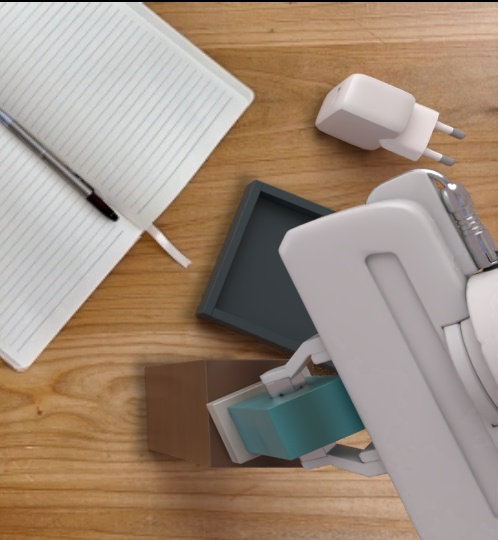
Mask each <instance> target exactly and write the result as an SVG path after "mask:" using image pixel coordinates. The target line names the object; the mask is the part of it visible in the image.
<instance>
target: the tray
mask: <svg viewBox="0 0 498 540" xmlns="http://www.w3.org/2000/svg"><path fill="white" fill-rule="evenodd" d="M336 212H337V211H336V210H334V209H331V208H329V207H326V206H324V205H322V204H319V203H316V202H314V201H311V200H309V199H307V198H304V197H301V196H299V195H296V194H294V193H291V192H289V191H286V190H284V189H282V188H279V187H276V186H274V185H271V184H268V183H266V182H263V181H261V180H258V179H254V180H252V181H251V182H250V183H248V184H246V186H245V189H244V192H243V194H242V196H241V199H240V201H239V204H238V206H237V209H236V211H235V213H234V215H233V218H232V220H231V223H230V226H229V228H228V231H227V233H226V236H225V239H224V241H223V243H222V246H221V249H220V252H219V254H218V256H217V259H216V262H215V263H214V266H213V269H212V271H211V274H210V276H209V279H208V281H207V284H206V286H205V289H204V291H203V294H202V296H201V298H200V301H199V304H198V306H197V308H196V311H195V313H194V315H195V316H196V317H199V318H201V319H203V320H206V321H208V322H211V323H213V324H215V325H218V326H220V327H222V328H225V329H227V330H229V331H232V332H234V333H237V334H239V335H242V336H244V337H247V338H249V339H251V340H253V341H256V342H258V343H260V344H263V345H266V346H268V347H270V348H273V349H274V350H278V351H279V352H282V353H285V354H287V355H289V356H291V357H292V356H293V355H294V354H295V352H296V351H297V350H298V349H299V347H300V346H301V345H302V343H303V342H305V341H306V340H308V339H310V338H311V337H313V336H314V335H316V334H318V332H317V330H316V327H315V325H314V323H313V321H312V319H311V317H310V315H309V313H308V311H307V309H306V307H305V305H304V303H303V301H302V299H301V297H300V295H299V293H298V291H297V289H296V287H295V285H294V283H293V281H292V279H291V277H290V275H289V273H288V271H287V269H286V267H285V265H284V263H283V261H282V259H281V257H280V254H279V247H280V245H281V242H282V240H283V238H284V236H285V235H286V233H287V232H288V231H289V230H291V229H293V228H296V227H298V226H300V225H303V224H305V223H308V222H310V221H313V220H315V219H318V218H321V217H324V216H327V215H330V214H332V213H336ZM313 366H316V367H318V368H319V369H323V370H324V371H327V372H330V373H332V374H333V375H339V374H338V372H337V370H336V368H335V366H334V364H333V362H332V360H330V361H327V362H323V363H320V364H314V363H313Z"/></svg>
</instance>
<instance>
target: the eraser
mask: <svg viewBox="0 0 498 540" xmlns="http://www.w3.org/2000/svg"><path fill="white" fill-rule="evenodd" d="M301 372H302V374H303V376H304V378H305V381H306V383H307V384H306V385H304V386H303V387H300V389H299V390H297V391H296V392H293V393H290V394H286V395H281V396H279V397H276V398H273V399H271V398H270V396H269V394H268V392H267V390H266V388H265V387H264V384H263V383H262V381H260V382H257V383H255V384H253V385H250V386H248V387H246V388H243V389H241V390H238V391H236V392H234V393H231V394H229V395H227V396H224V397H222V398H220V399H217V400H215V401H213V402H210V403H208V404H206V406H207V408H208V410H209V412H210V414H211V417H212V419H213V421H214V423H215V425H216V427H217V429H218V432H219V434H220V436H221V438H222V440H223V442H224V444H225V447H226V449H227V451H228V453H229V455H230V457H231V459H232V461H233V462H235V463H239V464H242V463H244V462H246V461H249V460H251V459H253V458H256V457H258V456H260V455H266V456H271V457H277V458H282V459H287V460H294V459H296V458H298V457H301V456H303V455H305V454H308V453H310V452H312V451H315V450H317V449H319V448H322V447H324V446H326V445H329V444H331V443H333V442H336V443H337V442H338V441H341V440H343V439H345V438H348V437H350V436H353V435H355V434H357V433H359V432H362V431H363V430H366V429H365V427H364V425H363V423H362V421H361V418H360V416H359V414H358V412H357V410H356V408H355V406H354V404H353V402H352V400H351V398H350V396H349V394H348V392H347V390H346V388H345V386H344V384H343V382H342V380H341V378H340V376H339V375H337V374H331V375H329V374H328V375H327V374H326V375H314V376H311V374H310V372H309V370H308V368H307V366H306V367H305V368H304V369H303V370H302V371H301Z"/></svg>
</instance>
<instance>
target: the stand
mask: <svg viewBox="0 0 498 540" xmlns="http://www.w3.org/2000/svg"><path fill="white" fill-rule="evenodd" d="M290 359H291V358H220V359H219V358H215V359H213V358H211V359H210V358H209V359H199V360H191V361H189V360H188V361H182V362H174V363H165V364H158V365H151V366H150V365H148V366H145V367H144V381H145V382H144V383H145V407H146V408H145V409H146V433H147V434H146V435H147V449H148V450H150V451H154V452H157V453H160V454H163V455H168V456H171V457H174V458H176V459H177V458H178V459H180V460H185V461H188V462H191V463H194V464H198V465H201V466H205V467H208V468H212V469H234V468H236V469H274V468H275V469H304V468H303V466H302V464H301V461H300V459H299V457H298V458H296V459H294V460H287V459H282V458H277V457H271V456H266V455H260V456H258V457H256V458H253V459H251V460H249V461H246V462H244V463H242V464H239V463H235V462H233V461H232V459H231V457H230V455H229V453H228V451H227V449H226V447H225V444H224V442H223V440H222V438H221V436H220V434H219V432H218V429H217V427H216V425H215V423H214V421H213V419H212V417H211V414H210V412H209V410H208V408H207V406H206V404H208V403H210V402H213V401H215V400H217V399H220V398H222V397H224V396H227V395H229V394H231V393H234V392H236V391H238V390H241V389H243V388H246V387H248V386H250V385H253V384H255V383H257V382H260V381H262V380H261V378H260V376H261V375H263V374H264V373H266V372H267V371H270V370H272V369H274V368H277V367H280V366H283V365H286V364H287V363H288V361H289V360H290ZM307 368H308V370H309V372H310V374H311V376H315V373H314V365H313V361H312V360H311V361H310V362H309V363H308V364H307ZM319 468H320V467H318V468H317V469H319Z"/></svg>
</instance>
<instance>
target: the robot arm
mask: <svg viewBox="0 0 498 540" xmlns="http://www.w3.org/2000/svg"><path fill="white" fill-rule="evenodd" d="M435 181H437V182H438V183H439V184H441V186H442V187H443V188H441V189H439V188H438V186H437V184H436V182H435ZM473 205H474V202H473V199H472V197H471V195H470V193H469V191H468V190H467V189H466V187H465V186H464V185H463V184H462V183H461V182H460V181H457V182H455V183H454V182H453V181H452V180H451V179H450V178H449V177H448V176H446V175H445V174H443V173H442V172H439V171H437V170H435V169H432V168H425V167H423V168H412V169H409V170H406V171H404V172H402V173H399V174H397V175H394V176H393V177H391V178H388V179H385V180H384V181H382V182H379V184H377V185H375V186H374V187H373V188H372V190H371V191H370V192H369V194H368V195H367V197H366V200H365V203H363V204H359V205H355V206H352V207H349V208H346V209H342V210H338V211H336V213H332V214H330V215H327V216H324V217H321V218H318V219H315V220H313V221H310V222H308V223H305V224H303V225H300V226H298V227H296V228H293V229H291V230H289V231H288V232H287V233H286V235H285V236H284V238H283V240H282V242H281V245H280V247H279V254H280V257H281V259H282V261H283V263H284V265H285V267H286V269H287V271H288V273H289V275H290V277H291V279H292V281H293V283H294V285H295V287H296V289H297V291H298V293H299V295H300V297H301V299H302V301H303V303H304V305H305V307H306V309H307V311H308V313H309V315H310V317H311V319H312V321H313V323H314V325H315V327H316V330H317V332H318V334H316V335H314V336H313V337H311V338H310V339H308V340H306V341H305V342H303V343H302V345H301V346H300V347H299V349H298V350H297V351H296V352H295V354H294V355H293V356H291V357H290V358H289V359H290V360H289V361H288V363H287V364H286V365H283V366H280V367H277V368H274V369H272V370H270V371H267V372H266V373H264V374H263V375H261V376H260V378H261V380H262V383H263V384H264V387H265V388H266V390H267V392H268V394H269V396H270V398H271V399H273V398H276V397H279V396H281V395H286V394H290V393H293V392H296V391H297V390H299V389H300V387H303V386H304V385H306V384H307V383H306V381H305V378H304V376H303V374H302V372H301V371H302V370H303V369H304V368H305V367H306V366H307V364H308V363H309V362H310V361H311V360H312V361H313V363H314V364H320V363H323V362H327V361H330V360H332V362H333V364H334V366H335V368H336V370H337V372H338V374H339V376H340V378H341V380H342V382H343V384H344V386H345V388H346V390H347V392H348V394H349V396H350V398H351V400H352V402H353V404H354V406H355V408H356V410H357V412H358V414H359V416H360V418H361V421H362V423H363V425H364V427H365V429H364V430H366V433H367V436H369V438H370V441H371V442H369V444H367V445H366V446H365V448H358V447H354V446H350V445H346V444H341V443H337V441H336V442H333V443H331V444H329V445H326V446H324V447H322V448H319V449H317V450H315V451H312V452H310V453H308V454H305V455H303V456H301V457H299V459H300V461H301V464H302V466H303V468H302V469H304V470H305V471H308V470H314V469H319V468H322V467H323V468H324V467H326V466H332V467H333V468H336V469H340V470H343V471H346V472H348V473H349V472H350V473H353V474H355V475H359V476H363V477H367V478H373V477H377V476H384V475H388V477H389V479H390V481H391V483H392V486H393V487H394V490H395V491H396V493H397V496H398V498H399V499H400V501H401V504H402V506H403V508H404V509H405V512H406V514H407V516H408V518H409V520H410V521H411V524H412V526H413V528H414V530H415V532H416V534H417V536H418V538H419V540H498V245H497V243H496V242H495V240H494V238H493V236H492V234H491V233H490V231H489V229H488V228H487V227H486V225H485V224H484V223H483V221H482V220H481V219H480V217H479V215H478V213H477V211H476V209H475V208H474V206H473ZM480 270H481V271H480ZM318 467H319V468H318Z"/></svg>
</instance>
